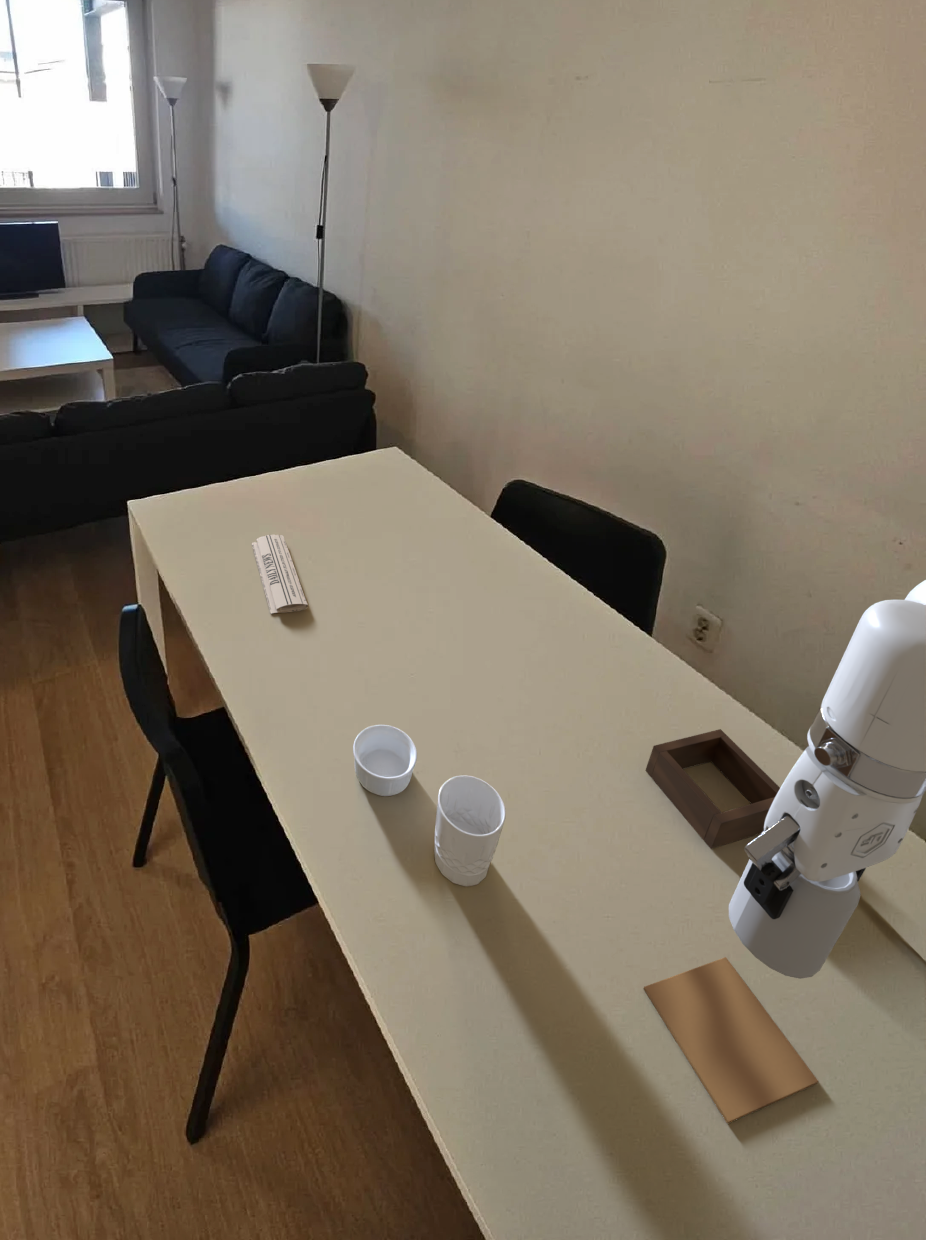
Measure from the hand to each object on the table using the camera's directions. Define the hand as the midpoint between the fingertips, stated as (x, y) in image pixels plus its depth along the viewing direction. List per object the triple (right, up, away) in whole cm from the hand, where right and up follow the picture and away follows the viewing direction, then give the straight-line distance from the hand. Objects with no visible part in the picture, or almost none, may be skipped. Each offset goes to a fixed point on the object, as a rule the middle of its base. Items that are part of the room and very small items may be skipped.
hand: (796, 888), depth 60 cm
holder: (+12, -10, +33) cm, 37 cm away
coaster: (-1, -21, +8) cm, 22 cm away
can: (0, -7, +3) cm, 7 cm away
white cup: (-25, -13, +24) cm, 37 cm away
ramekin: (-33, -8, +35) cm, 49 cm away
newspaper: (-51, +11, +76) cm, 92 cm away
